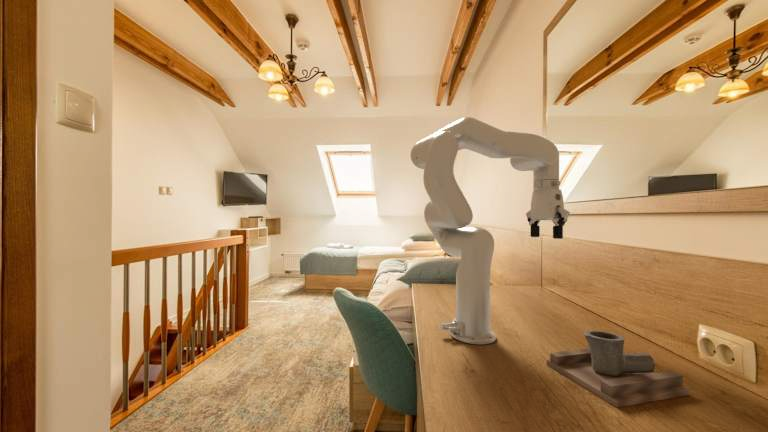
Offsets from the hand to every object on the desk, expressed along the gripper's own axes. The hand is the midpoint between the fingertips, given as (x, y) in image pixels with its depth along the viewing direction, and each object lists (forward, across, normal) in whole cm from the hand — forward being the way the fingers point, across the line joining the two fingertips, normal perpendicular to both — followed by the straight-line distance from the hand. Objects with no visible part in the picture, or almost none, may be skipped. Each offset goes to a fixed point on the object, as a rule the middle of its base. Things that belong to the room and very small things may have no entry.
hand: (545, 237), depth 97 cm
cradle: (+28, -32, +13) cm, 45 cm away
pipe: (+27, -32, +12) cm, 44 cm away
